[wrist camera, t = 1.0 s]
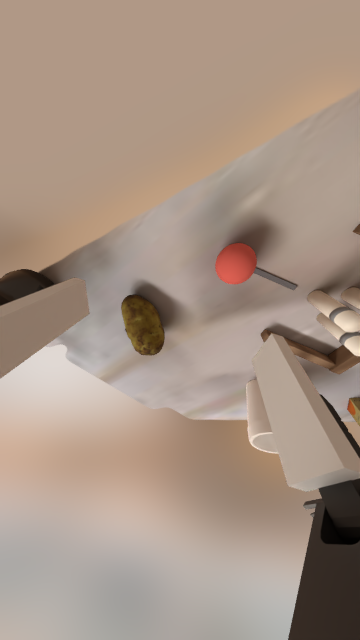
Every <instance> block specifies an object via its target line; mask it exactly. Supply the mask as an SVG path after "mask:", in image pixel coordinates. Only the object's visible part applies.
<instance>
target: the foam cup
mask: <svg viewBox="0 0 360 640" xmlns="http://www.w3.org/2000/svg"><path fill="white" fill-rule="evenodd" d="M246 394H247V414H248V428H247V430H248V435H249V441H250V443H251V445H252V446H253V447H255V448H257V449H258V450H261V451H265V452H268V453H277V454H279V453H278V450H277V446H276V443H275V439H274V436H273V433H272V429H271V426H270V422H269V419H268V415H267V412H266V408H265V405H264V401H263V398H262V394H261V391H260V388H259V384H258V381H257V379H255V380H251V381H250V382H248V383H247V386H246Z"/></svg>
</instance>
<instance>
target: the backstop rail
mask: <svg viewBox="0 0 360 640" xmlns="http://www.w3.org/2000/svg"><path fill="white" fill-rule="evenodd" d="M353 232H354V233H357V234H359V235H360V224H359V225H358V226H357V227H356V229H355V230H354V231H353ZM271 333H272V334H275V333H273V332H270V331H268V330H266V329H265V330H264V331H263V332H262V333H261V337H262V339H263V341H264V342H266V340H267V339H268V337H269V336H270V335H271ZM276 335H278V334H276ZM279 336H280V335H279ZM284 339H285V341H286V342H287V344H288V345H289V347H290V349H291V350H292V352H293V353H294V355H297V356H299V357H302V358H304V359H306V360H309V361H311V362H313V363H316V364H318V365H321V366H323V367H325V368H328V369H329V370H330V371H332V372H334V373H337V374H341V373H343V372H344V371H346V370H348V369H349V368H351V367H353V366H354V365H356V364H357V363H359V362H360V356H356V355H354V354H353V353H352V352H351V351H350V350H349V349H347V348H346V347H345V346H344V345H342V346H341V347H339V348H338V349H337V350H335V351H334V352H332V353H331V354H329V355H328V356H327V355H325V354H323V353H320V352H318V351H315V350H313V349H311V348H308V347H306V346H304V345H301V344H299V343H296V342H294V341H292V340H289V339H287V338H285V337H284Z"/></svg>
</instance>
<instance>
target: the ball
mask: <svg viewBox="0 0 360 640" xmlns="http://www.w3.org/2000/svg"><path fill="white" fill-rule="evenodd" d="M256 264H257V259H256V254H255V252H254V251H253V249H252V248H251V247H249V246H248V245H246V244H242V243H235V244H231V245H229V246H227V247H225V248H224V249H223V250H222V251H221V252H220V254H219V255H218V257H217V260H216V272H217V275H218V276H219V278H220V279H221V280H222V281H224V282H226V283H228V284H239V283H242V282H244V281H246V280H247V279H249V278H250V277H251V275H252V274H253V272H254V271H255V268H256Z"/></svg>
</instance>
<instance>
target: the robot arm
mask: <svg viewBox="0 0 360 640" xmlns="http://www.w3.org/2000/svg"><path fill="white" fill-rule="evenodd" d="M88 314H90V313H89V306H88V299H87V293H86V286H85V280H82V279H78V278H75V277H74V278H71V279H69V280H66V281H64V282H61V283H59V284H56V285H54V284H53V283H52V282H51V281H50V280H49V279H47V278H46V277H44V276H43V275H41V274H39V273H37V272H35V271H32V270H28V269H21V270H17V271H13V272H9V273H7V274H6V275H5V276H3V277H2V278H0V378H2V377H3V376H4V375H6V374H7V373H9V372H10V371H11V370H13V369H14V368H15V367H17V366H18V365H20V364H21V363H22V362H24V361H25V360H26V359H28V358H29V357H30V356H32V355H33V354H35V353H36V352H37V351H39V350H40V349H42V348H43V347H44V346H46V345H47V344H48V343H50V342H51V341H53V340H54V339H55V338H57V337H58V336H59V335H61V334H62V333H64V332H65V331H66V330H68V329H69V328H70V327H72V326H73V325H74V324H76V323H77V322H79V321H80V320H81V319H83V318H84V317H85V316H87V315H88ZM252 363H253V367H254V370H255V374H256V377H257V381H258V384H259V388H260V391H261V394H262V398H263V401H264V405H265V408H266V412H267V415H268V419H269V422H270V426H271V429H272V433H273V436H274V439H275V443H276V446H277V450H278V453H279V457H280V460H281V464H282V467H283V470H284V474H285V478H286V481H287V485H288V486H290V487H293V488H297V489H300V490H303V491H306V492H308V491H312V490H316V489H319V491H320V494H321V496H322V499H317V500H312V501H307V502H305V503H304V505H303V507H304V508H305V509H312V508H315V512H314V513H311V516H312V517H313V523H312V528H311V533H310V537H309V542H308V547H307V552H306V557H305V561H304V566H303V571H302V576H301V581H300V585H299V591H298V595H297V600H296V604H295V610H294V614H293V619H292V624H291V629H290V633H289V638H288V640H360V447H359V445H358V444H357V442H356V441H355V439H354V438H353V436H352V435H351V434H350V433H349V432H348V429H347V427H346V426H345V424H344V423H343V422H342V421H341V418H340V417H339V415H338V414H337V412H336V411H335V409H334V408H333V406H332V405H331V404H330V403H329V402H328V401H327V400H326V399H325V398H324V397H323V396H322V395H320V394H319V393H318V392H317V390H316V388H315V387H314V385H313V384H312V382H311V380H310V379H309V377H308V376H307V374H306V372H305V371H304V369H303V368H302V366H301V364H300V363H299V361H298V360H297V358H296V357H295V355H294V353H293V352H292V350H291V349H290V347H289V345H288V344H287V342H286V341H285V339H284V337H283V336H279V335H276V334H272V333H271V335H270V336H269V337H268V339H267V340H266V342H265V343H264V344H263V346H262V347H261V348H260V350H259V351H258V353H257V354H256V355H255V357H254V358H253V359H252Z"/></svg>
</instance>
